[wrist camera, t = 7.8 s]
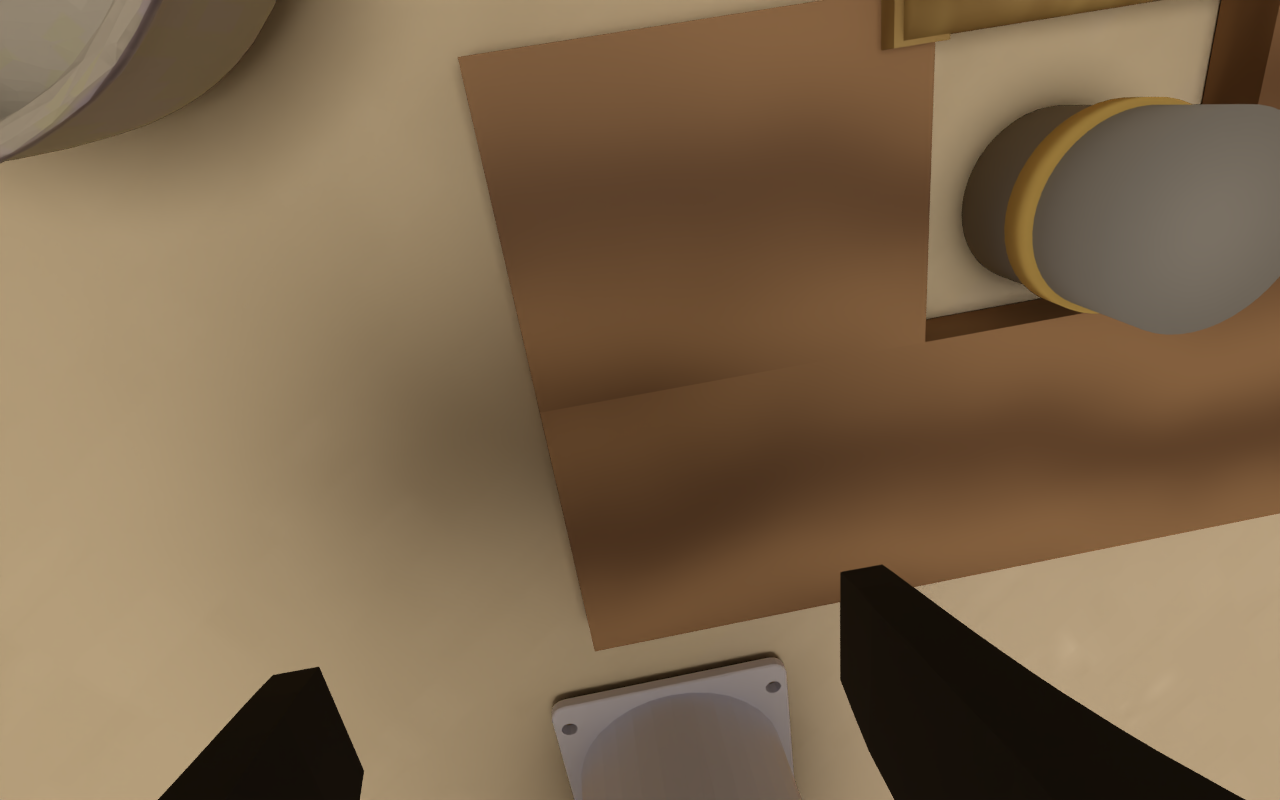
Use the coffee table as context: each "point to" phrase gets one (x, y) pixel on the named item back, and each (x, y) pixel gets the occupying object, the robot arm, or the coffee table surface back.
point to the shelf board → (829, 324)
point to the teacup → (111, 64)
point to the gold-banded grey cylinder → (1133, 209)
